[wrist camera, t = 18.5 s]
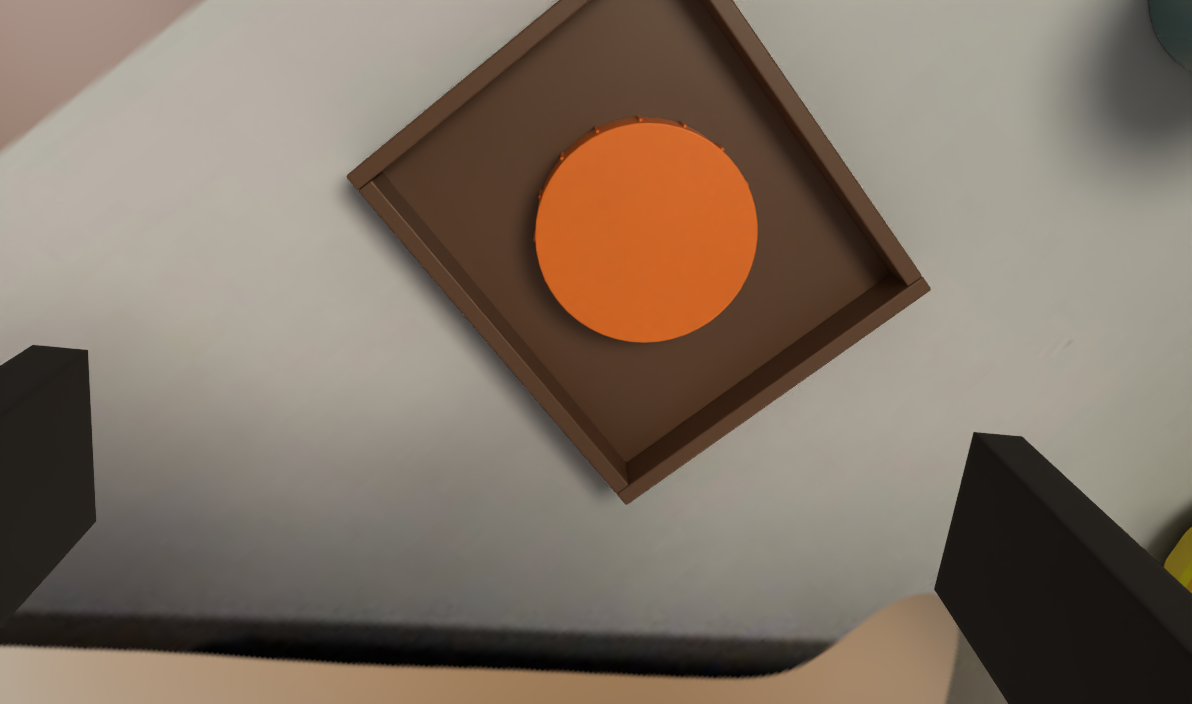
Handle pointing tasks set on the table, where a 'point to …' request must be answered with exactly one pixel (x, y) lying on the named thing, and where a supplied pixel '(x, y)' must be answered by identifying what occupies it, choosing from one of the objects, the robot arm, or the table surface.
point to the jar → (1174, 28)
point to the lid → (645, 230)
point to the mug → (1181, 561)
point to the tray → (510, 202)
